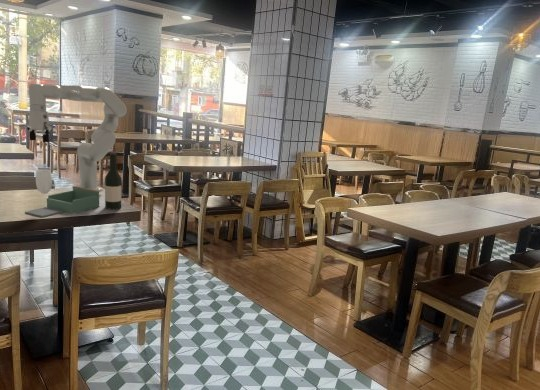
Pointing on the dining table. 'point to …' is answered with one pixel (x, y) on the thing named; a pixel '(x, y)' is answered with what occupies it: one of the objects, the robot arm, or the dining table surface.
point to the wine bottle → (113, 186)
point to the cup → (43, 180)
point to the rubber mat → (43, 212)
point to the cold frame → (74, 200)
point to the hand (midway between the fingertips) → (39, 141)
